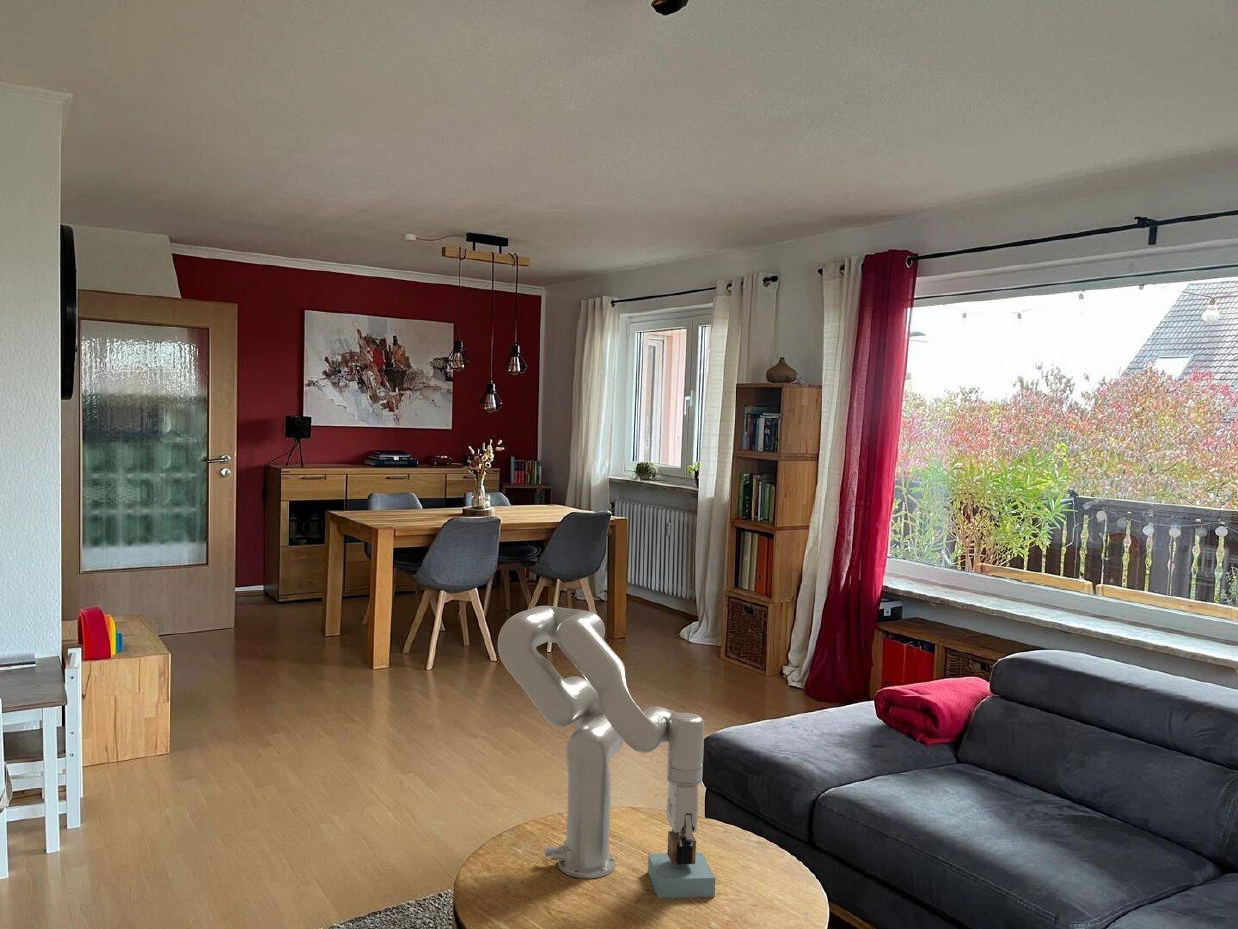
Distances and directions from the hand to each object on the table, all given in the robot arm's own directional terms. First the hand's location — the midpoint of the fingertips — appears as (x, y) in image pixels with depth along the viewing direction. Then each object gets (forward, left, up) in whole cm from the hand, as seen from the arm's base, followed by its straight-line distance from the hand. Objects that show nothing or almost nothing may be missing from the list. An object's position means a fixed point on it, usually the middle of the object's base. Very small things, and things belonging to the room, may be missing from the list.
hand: (681, 857), depth 200 cm
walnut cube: (0, 0, -1) cm, 1 cm away
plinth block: (0, 0, -6) cm, 6 cm away
